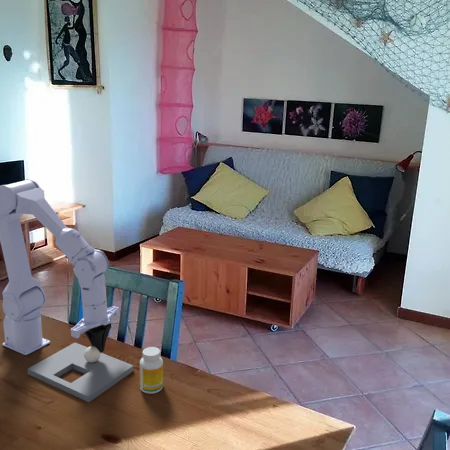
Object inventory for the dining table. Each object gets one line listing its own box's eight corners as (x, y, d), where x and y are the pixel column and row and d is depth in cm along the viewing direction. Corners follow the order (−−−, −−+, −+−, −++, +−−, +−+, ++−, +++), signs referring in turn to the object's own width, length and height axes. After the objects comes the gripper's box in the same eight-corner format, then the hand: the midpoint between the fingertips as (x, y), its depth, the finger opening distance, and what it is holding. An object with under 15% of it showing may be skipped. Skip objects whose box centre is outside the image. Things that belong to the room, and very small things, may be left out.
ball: (85, 360, 126) (78, 356, 123) (93, 345, 128) (87, 341, 124) (97, 367, 125) (90, 363, 121) (106, 352, 126) (99, 348, 123)
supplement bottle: (135, 386, 118) (134, 349, 116) (155, 378, 122) (155, 342, 119) (147, 397, 114) (147, 359, 112) (167, 389, 118) (167, 352, 115)
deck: (28, 374, 121) (27, 368, 121) (75, 347, 134) (74, 342, 133) (88, 402, 112) (88, 396, 111) (133, 370, 124) (133, 365, 124)
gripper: (84, 316, 114) (89, 369, 118) (127, 293, 126) (130, 342, 130) (62, 309, 117) (67, 361, 121) (105, 288, 129) (109, 336, 133)
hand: (98, 351), depth 126 cm, fingers closed, pressing on ball
